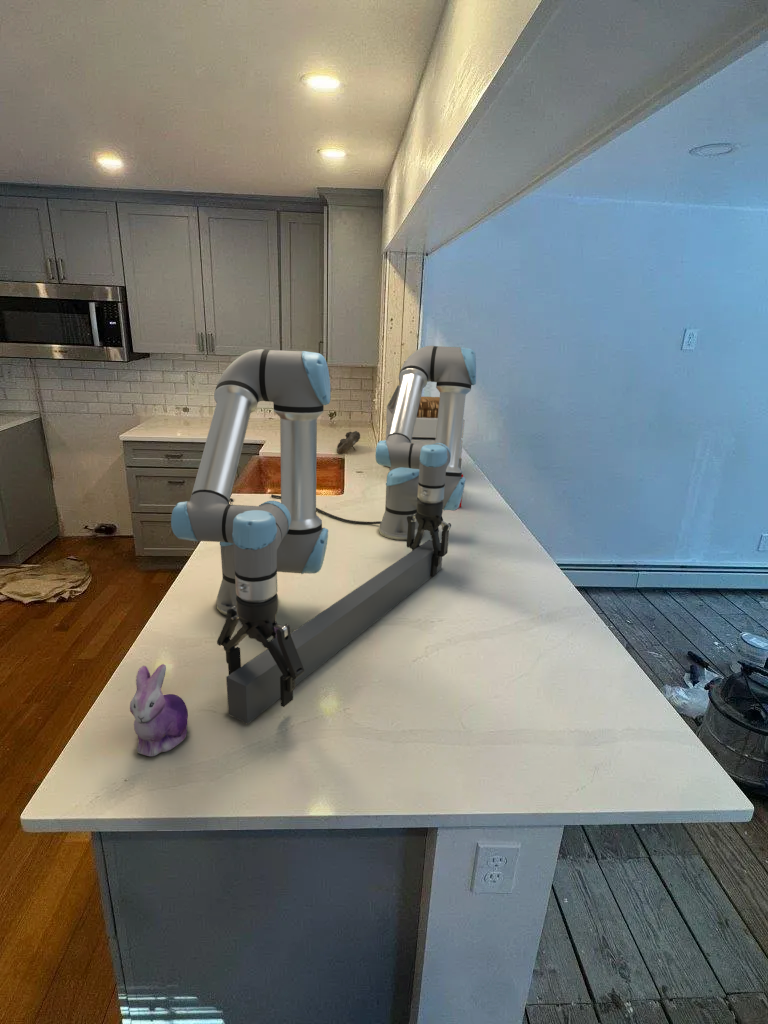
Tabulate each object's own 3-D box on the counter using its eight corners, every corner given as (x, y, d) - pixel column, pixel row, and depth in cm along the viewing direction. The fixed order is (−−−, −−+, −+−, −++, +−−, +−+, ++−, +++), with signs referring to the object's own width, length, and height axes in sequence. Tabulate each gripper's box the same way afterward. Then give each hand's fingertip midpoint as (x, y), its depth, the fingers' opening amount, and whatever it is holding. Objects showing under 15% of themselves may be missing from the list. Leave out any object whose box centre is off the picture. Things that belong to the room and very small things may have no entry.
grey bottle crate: (382, 463, 289) (386, 382, 275) (445, 464, 293) (451, 384, 279) (390, 482, 257) (394, 392, 243) (460, 483, 261) (468, 394, 247)
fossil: (337, 437, 322) (357, 422, 317) (347, 450, 325) (368, 435, 320) (330, 450, 302) (352, 434, 297) (341, 464, 305) (363, 448, 300)
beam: (427, 565, 177) (428, 539, 174) (441, 569, 174) (443, 543, 171) (228, 714, 109) (226, 676, 106) (247, 724, 107) (245, 686, 104)
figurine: (137, 767, 96) (127, 693, 90) (132, 728, 104) (122, 659, 99) (195, 750, 100) (189, 678, 95) (185, 714, 108) (179, 646, 103)
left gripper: (194, 583, 108) (201, 677, 115) (296, 622, 96) (297, 725, 103) (223, 569, 114) (228, 659, 121) (323, 605, 102) (322, 703, 109)
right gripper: (396, 496, 164) (392, 569, 171) (453, 509, 155) (446, 585, 163) (409, 490, 170) (404, 561, 177) (464, 502, 161) (457, 576, 169)
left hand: (260, 690), depth 112 cm, fingers open, 13 cm apart
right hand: (425, 572), depth 170 cm, fingers closed on beam, 5 cm apart
